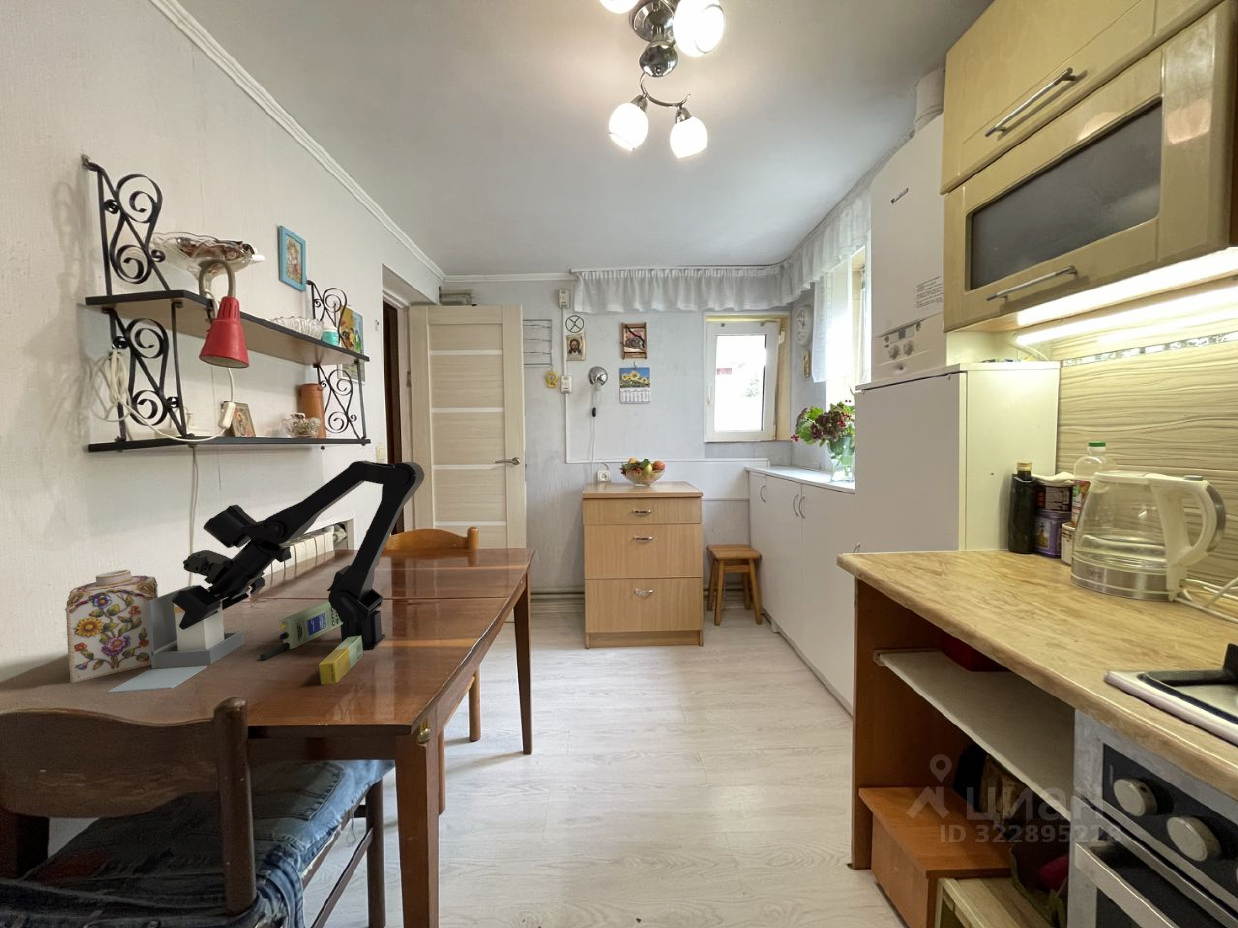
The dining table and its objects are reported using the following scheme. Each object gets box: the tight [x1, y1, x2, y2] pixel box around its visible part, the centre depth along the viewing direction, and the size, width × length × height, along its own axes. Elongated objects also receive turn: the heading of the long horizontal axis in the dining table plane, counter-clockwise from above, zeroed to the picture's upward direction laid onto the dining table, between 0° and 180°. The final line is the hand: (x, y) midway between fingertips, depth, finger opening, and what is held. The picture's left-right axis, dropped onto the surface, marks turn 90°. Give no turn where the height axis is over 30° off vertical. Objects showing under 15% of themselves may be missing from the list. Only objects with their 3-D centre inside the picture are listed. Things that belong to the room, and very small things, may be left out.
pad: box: [106, 665, 208, 694], centre depth 86 cm, size 10×8×1 cm
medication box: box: [318, 635, 364, 686], centre depth 89 cm, size 12×3×4 cm, turn 7°
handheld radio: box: [259, 599, 343, 662], centre depth 105 cm, size 7×3×25 cm
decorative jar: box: [64, 569, 159, 684], centre depth 93 cm, size 12×12×18 cm
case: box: [147, 585, 246, 669], centre depth 96 cm, size 10×10×13 cm
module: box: [174, 588, 225, 651], centre depth 96 cm, size 5×5×12 cm
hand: (192, 622), depth 96 cm, fingers open, 5 cm apart
